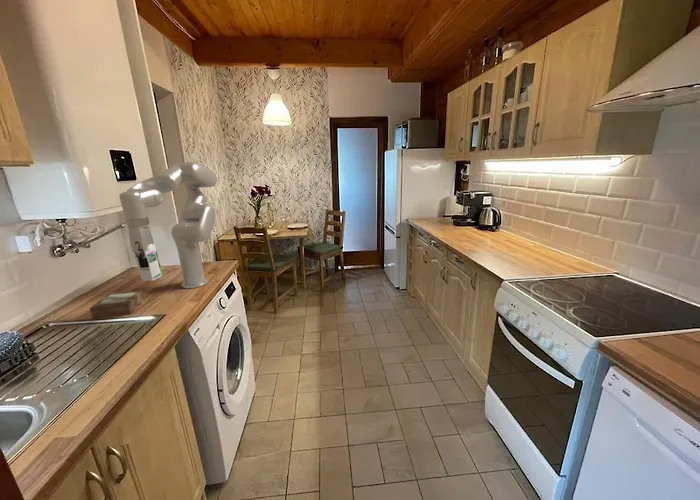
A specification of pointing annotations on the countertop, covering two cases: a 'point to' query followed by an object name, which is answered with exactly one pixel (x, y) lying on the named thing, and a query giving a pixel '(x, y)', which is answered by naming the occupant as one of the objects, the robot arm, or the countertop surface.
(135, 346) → the countertop surface
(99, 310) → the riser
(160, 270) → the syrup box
